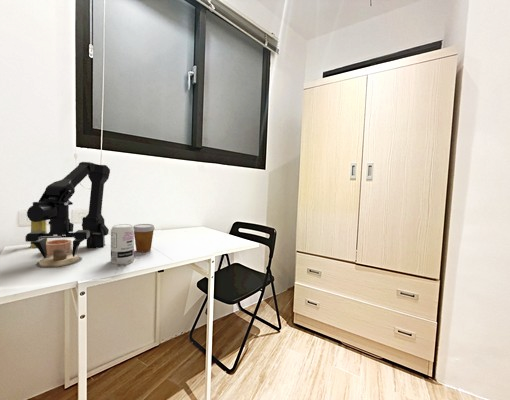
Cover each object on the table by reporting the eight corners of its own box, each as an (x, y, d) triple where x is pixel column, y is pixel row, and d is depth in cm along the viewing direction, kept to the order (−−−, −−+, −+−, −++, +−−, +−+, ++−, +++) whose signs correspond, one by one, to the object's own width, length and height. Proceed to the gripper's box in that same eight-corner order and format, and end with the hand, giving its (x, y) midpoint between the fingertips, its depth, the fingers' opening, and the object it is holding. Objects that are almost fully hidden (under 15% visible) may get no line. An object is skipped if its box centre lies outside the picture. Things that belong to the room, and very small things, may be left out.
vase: (37, 249, 109) (36, 217, 108) (26, 247, 110) (25, 216, 109) (51, 245, 115) (50, 216, 114) (40, 244, 116) (40, 214, 115)
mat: (86, 256, 103) (86, 254, 103) (75, 267, 90) (75, 266, 90) (45, 258, 98) (45, 256, 98) (28, 271, 85) (28, 269, 85)
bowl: (74, 249, 111) (73, 239, 111) (67, 255, 103) (66, 244, 102) (49, 250, 108) (49, 239, 107) (40, 257, 99) (40, 245, 99)
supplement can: (116, 258, 102) (116, 223, 101) (136, 259, 103) (137, 224, 102) (106, 265, 94) (106, 227, 93) (128, 265, 95) (128, 228, 94)
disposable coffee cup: (158, 249, 117) (159, 225, 116) (142, 254, 109) (142, 228, 108) (144, 246, 121) (145, 222, 120) (127, 251, 113) (127, 225, 112)
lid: (82, 255, 102) (82, 245, 102) (73, 265, 91) (73, 253, 90) (47, 257, 97) (47, 246, 97) (33, 268, 86) (32, 255, 86)
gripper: (93, 214, 104) (93, 249, 105) (38, 214, 97) (39, 252, 98) (86, 218, 93) (86, 257, 95) (24, 219, 86) (25, 261, 88)
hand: (60, 257), depth 94 cm, fingers open, 9 cm apart
